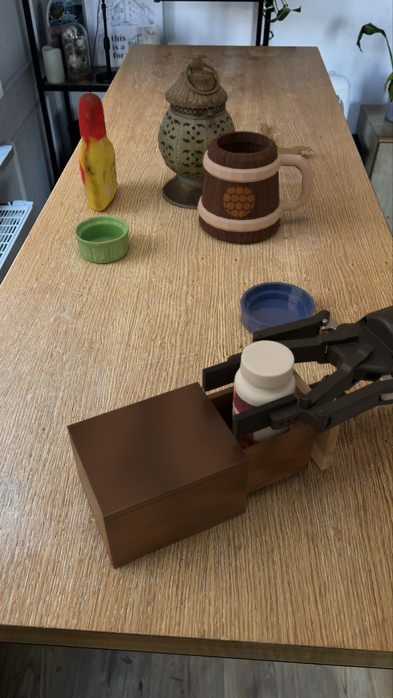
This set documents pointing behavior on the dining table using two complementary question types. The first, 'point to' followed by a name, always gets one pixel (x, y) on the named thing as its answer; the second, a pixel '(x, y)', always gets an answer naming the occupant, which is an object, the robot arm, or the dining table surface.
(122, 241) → the ramekin
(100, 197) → the bottle
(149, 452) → the cabinet
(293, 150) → the jawbone
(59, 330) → the dining table surface
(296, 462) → the drawer
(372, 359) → the robot arm
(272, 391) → the pill bottle
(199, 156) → the lantern
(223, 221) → the mug
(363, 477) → the dining table surface
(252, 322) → the bowl
